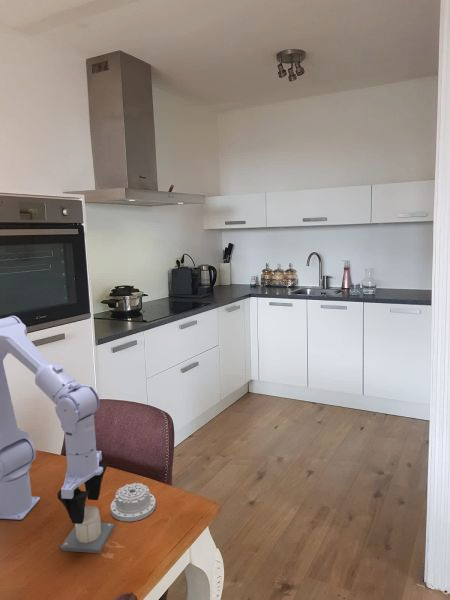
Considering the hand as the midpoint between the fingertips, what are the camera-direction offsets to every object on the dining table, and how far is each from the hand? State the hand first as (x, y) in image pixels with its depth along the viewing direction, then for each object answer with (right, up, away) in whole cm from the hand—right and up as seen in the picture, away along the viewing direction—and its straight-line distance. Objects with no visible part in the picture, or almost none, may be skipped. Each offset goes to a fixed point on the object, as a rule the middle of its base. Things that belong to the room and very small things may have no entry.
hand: (85, 510), depth 94 cm
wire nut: (0, -5, +1) cm, 6 cm away
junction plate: (0, -6, +1) cm, 6 cm away
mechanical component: (+8, -5, +11) cm, 14 cm away
